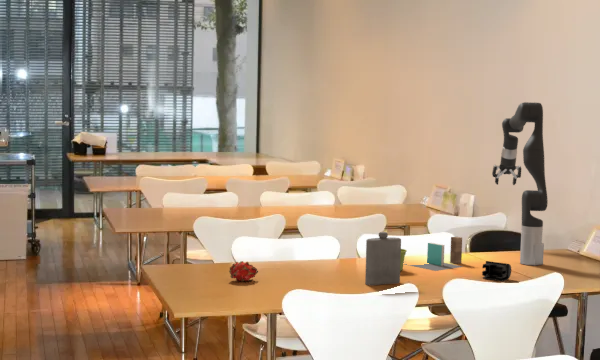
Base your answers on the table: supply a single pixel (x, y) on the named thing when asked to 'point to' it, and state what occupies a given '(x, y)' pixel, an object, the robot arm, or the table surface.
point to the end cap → (496, 271)
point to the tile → (435, 254)
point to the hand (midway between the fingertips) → (505, 184)
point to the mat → (436, 266)
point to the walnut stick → (456, 250)
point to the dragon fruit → (242, 271)
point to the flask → (383, 260)
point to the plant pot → (402, 258)
